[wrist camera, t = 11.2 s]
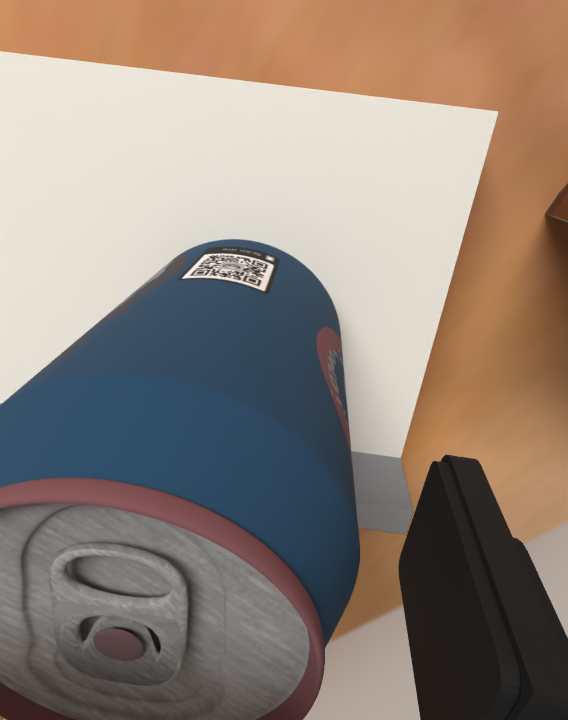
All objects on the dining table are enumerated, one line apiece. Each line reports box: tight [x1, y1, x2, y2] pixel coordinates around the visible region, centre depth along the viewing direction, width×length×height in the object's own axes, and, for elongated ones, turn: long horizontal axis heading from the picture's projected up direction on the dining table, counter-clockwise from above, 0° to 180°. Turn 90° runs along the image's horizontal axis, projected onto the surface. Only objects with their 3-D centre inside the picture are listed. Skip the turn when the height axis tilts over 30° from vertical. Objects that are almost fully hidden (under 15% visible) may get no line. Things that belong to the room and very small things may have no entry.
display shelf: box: [0, 51, 498, 535], centre depth 17 cm, size 24×14×6 cm, turn 84°
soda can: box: [0, 239, 360, 720], centre depth 12 cm, size 7×7×12 cm
